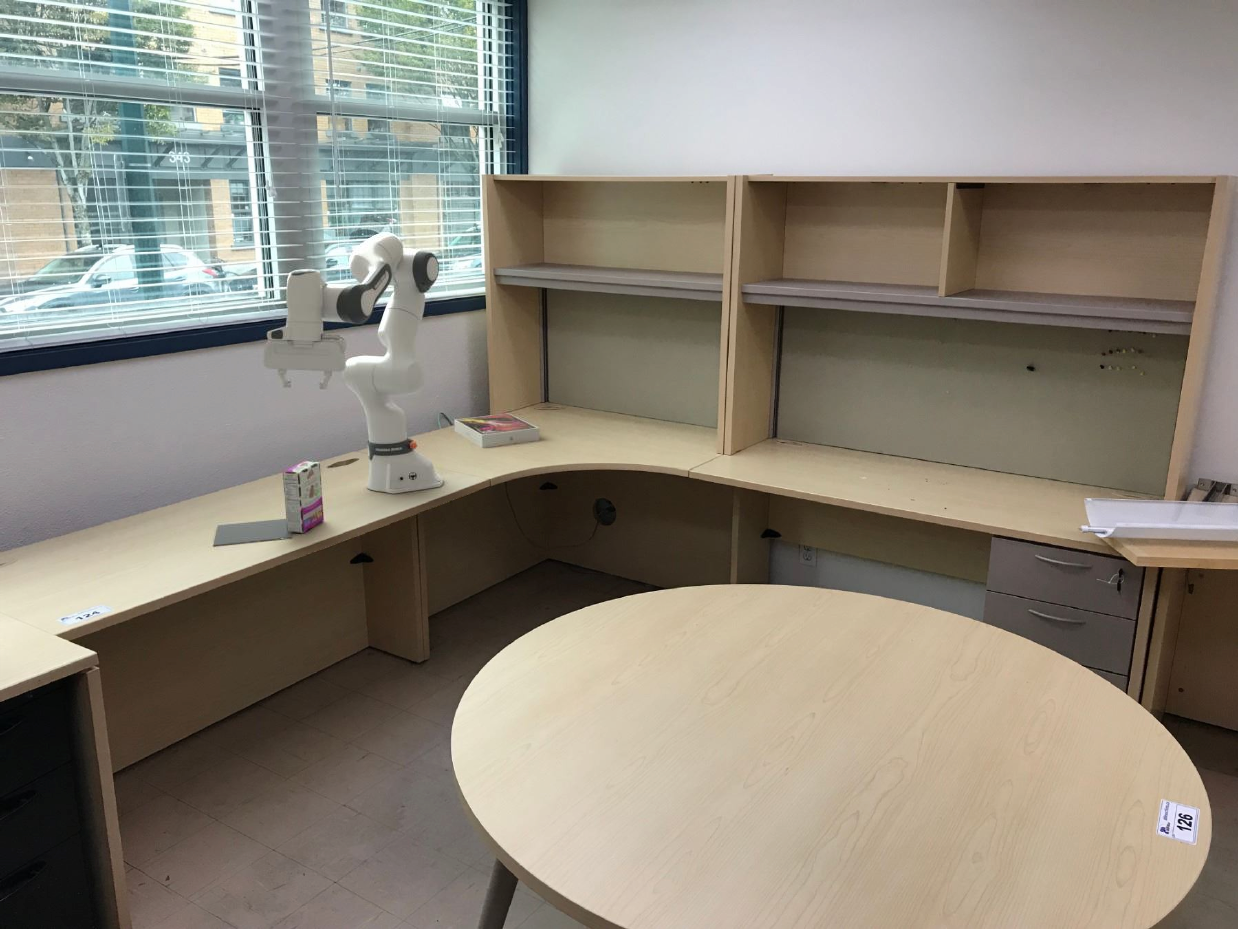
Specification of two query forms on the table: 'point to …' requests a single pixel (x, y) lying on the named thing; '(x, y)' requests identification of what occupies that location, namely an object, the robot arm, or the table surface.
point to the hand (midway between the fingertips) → (305, 388)
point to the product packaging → (496, 430)
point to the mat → (251, 532)
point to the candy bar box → (303, 496)
